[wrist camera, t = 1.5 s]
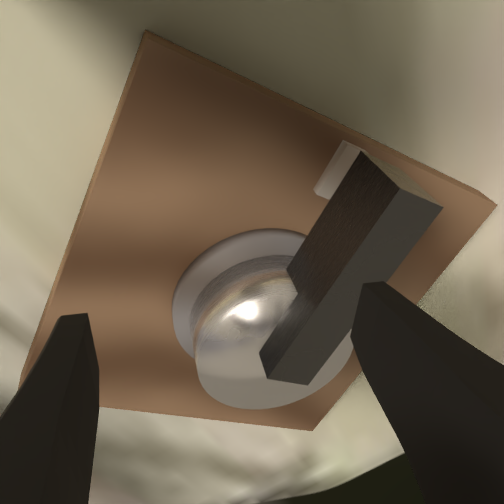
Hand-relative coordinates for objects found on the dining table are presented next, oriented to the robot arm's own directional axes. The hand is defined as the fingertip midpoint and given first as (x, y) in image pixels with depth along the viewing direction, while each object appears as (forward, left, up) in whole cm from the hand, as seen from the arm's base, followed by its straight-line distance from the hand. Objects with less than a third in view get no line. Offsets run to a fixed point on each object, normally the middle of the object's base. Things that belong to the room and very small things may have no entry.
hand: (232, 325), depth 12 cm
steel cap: (-2, -5, -7) cm, 9 cm away
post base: (-5, -5, -10) cm, 12 cm away
